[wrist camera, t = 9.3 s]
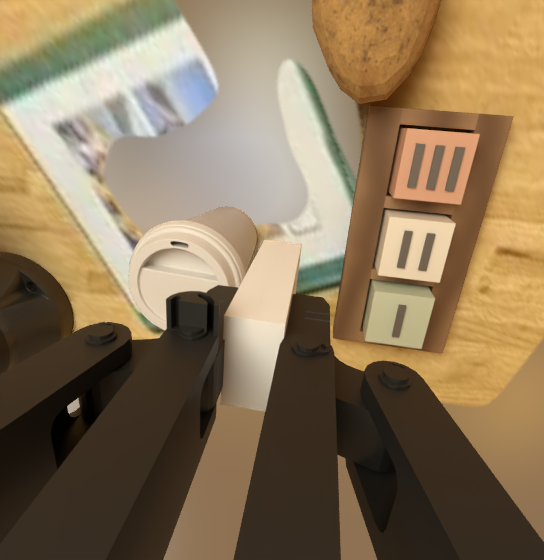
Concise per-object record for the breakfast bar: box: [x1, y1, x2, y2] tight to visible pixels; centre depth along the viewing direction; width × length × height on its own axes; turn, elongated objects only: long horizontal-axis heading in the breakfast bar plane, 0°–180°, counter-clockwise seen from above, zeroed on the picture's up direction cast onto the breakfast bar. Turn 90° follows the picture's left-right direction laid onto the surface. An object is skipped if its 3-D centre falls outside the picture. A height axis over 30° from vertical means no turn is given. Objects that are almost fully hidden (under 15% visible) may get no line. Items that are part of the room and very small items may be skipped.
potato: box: [312, 0, 441, 104], centre depth 29 cm, size 10×14×8 cm
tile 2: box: [374, 208, 456, 283], centre depth 37 cm, size 6×6×4 cm
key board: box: [333, 106, 514, 353], centre depth 38 cm, size 12×24×2 cm, turn 175°
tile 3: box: [387, 128, 480, 205], centre depth 34 cm, size 6×6×4 cm
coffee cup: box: [129, 207, 257, 330], centre depth 35 cm, size 10×10×15 cm
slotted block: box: [362, 279, 435, 349], centre depth 40 cm, size 6×6×4 cm
